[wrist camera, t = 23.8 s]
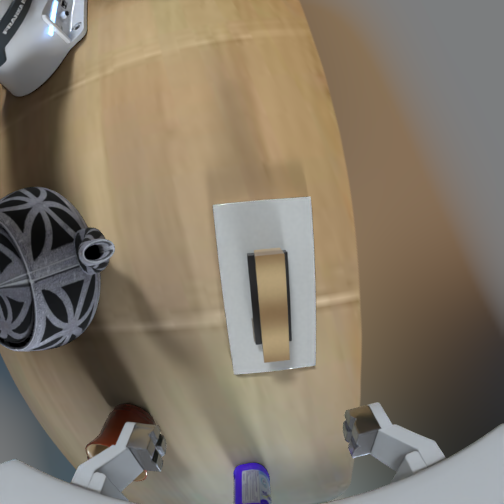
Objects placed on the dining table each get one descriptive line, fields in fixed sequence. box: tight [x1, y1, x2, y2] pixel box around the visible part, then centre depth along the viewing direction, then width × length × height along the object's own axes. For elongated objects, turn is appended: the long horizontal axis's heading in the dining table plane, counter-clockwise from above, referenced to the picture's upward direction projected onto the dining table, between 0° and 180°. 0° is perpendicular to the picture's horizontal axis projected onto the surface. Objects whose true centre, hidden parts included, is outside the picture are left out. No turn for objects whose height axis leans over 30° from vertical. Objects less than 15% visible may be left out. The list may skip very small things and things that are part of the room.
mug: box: [86, 404, 156, 481], centre depth 29 cm, size 12×9×10 cm
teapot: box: [0, 187, 115, 351], centre depth 21 cm, size 19×31×15 cm, turn 103°
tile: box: [213, 197, 316, 374], centre depth 30 cm, size 20×10×1 cm, turn 5°
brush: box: [247, 248, 292, 363], centre depth 27 cm, size 11×4×4 cm, turn 5°
